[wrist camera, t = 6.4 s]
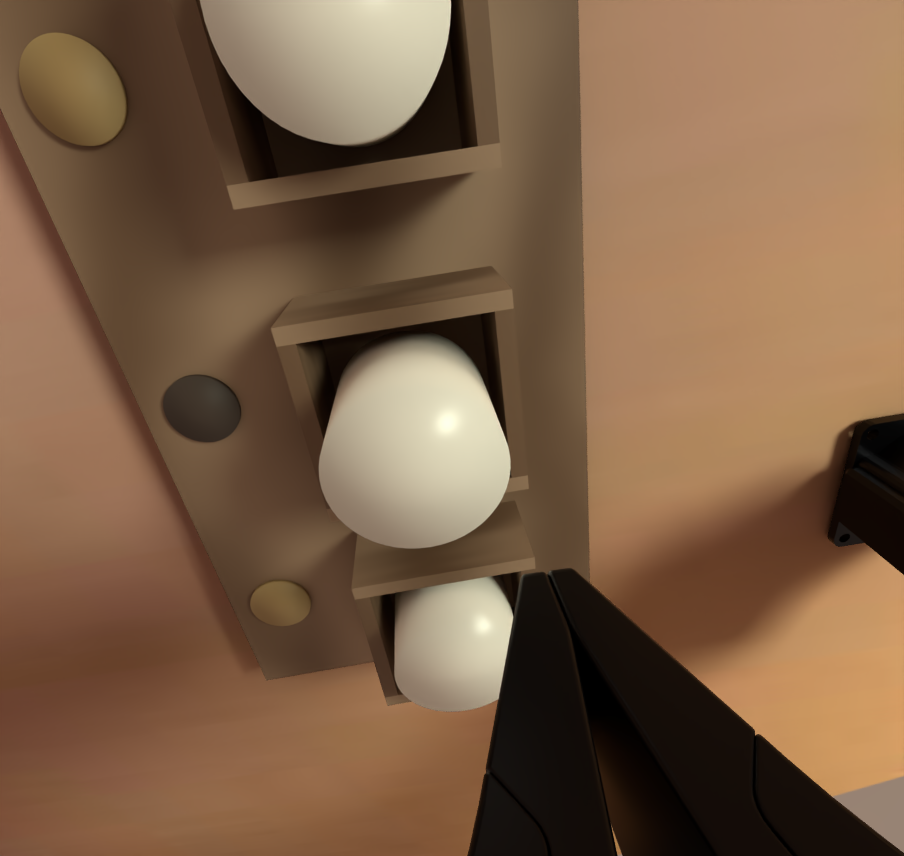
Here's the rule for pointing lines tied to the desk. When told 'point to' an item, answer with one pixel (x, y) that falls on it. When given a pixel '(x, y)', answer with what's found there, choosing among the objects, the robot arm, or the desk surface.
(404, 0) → the button
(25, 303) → the desk surface
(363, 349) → the button
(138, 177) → the board
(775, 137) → the desk surface
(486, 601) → the button
